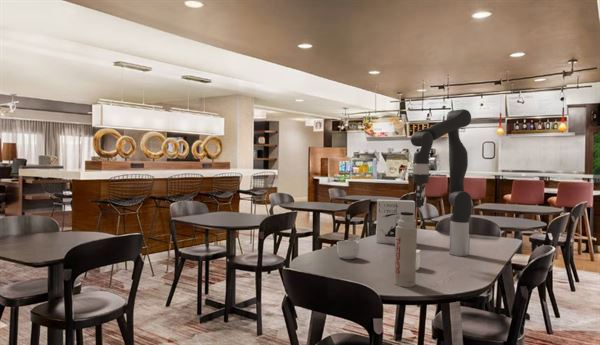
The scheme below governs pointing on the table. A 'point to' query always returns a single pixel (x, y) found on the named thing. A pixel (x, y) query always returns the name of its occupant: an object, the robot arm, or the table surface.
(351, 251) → the teacup
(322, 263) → the table surface
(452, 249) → the robot arm
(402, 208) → the cereal box
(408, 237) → the thermos bottle
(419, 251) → the cream colored box
